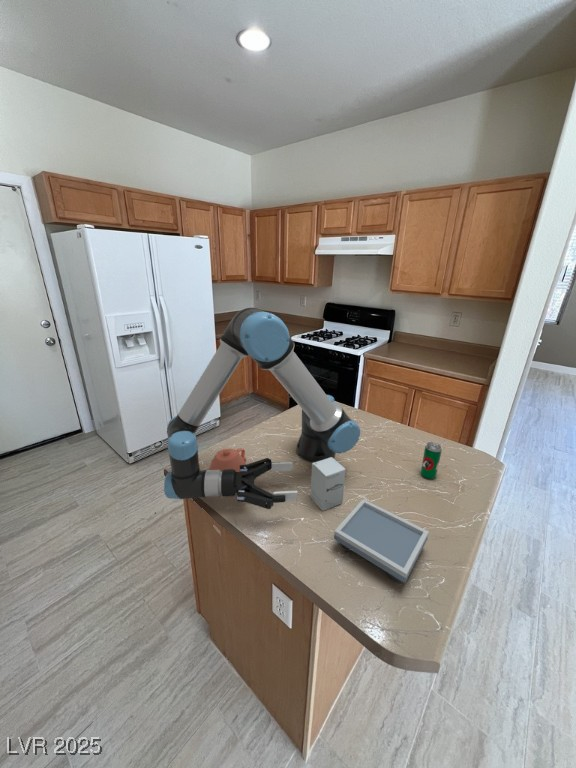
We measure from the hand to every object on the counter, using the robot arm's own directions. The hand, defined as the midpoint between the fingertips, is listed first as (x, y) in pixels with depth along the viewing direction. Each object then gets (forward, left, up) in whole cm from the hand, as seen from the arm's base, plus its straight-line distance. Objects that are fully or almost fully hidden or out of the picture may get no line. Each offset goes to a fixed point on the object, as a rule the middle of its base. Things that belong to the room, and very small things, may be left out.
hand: (294, 479), depth 92 cm
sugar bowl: (-25, -4, -8) cm, 27 cm away
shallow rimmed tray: (+27, +1, -8) cm, 28 cm away
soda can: (+27, +40, -8) cm, 49 cm away
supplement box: (+7, +7, -8) cm, 13 cm away
